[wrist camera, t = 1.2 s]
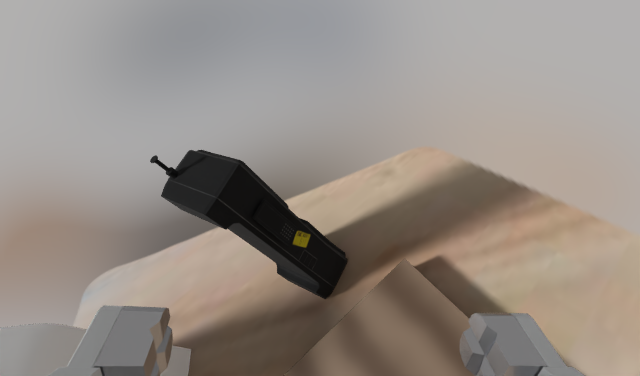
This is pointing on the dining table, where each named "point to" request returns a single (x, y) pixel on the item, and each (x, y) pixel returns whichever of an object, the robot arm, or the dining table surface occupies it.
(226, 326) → the dining table surface
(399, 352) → the walnut plinth
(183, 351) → the milk
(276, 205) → the portable radio
